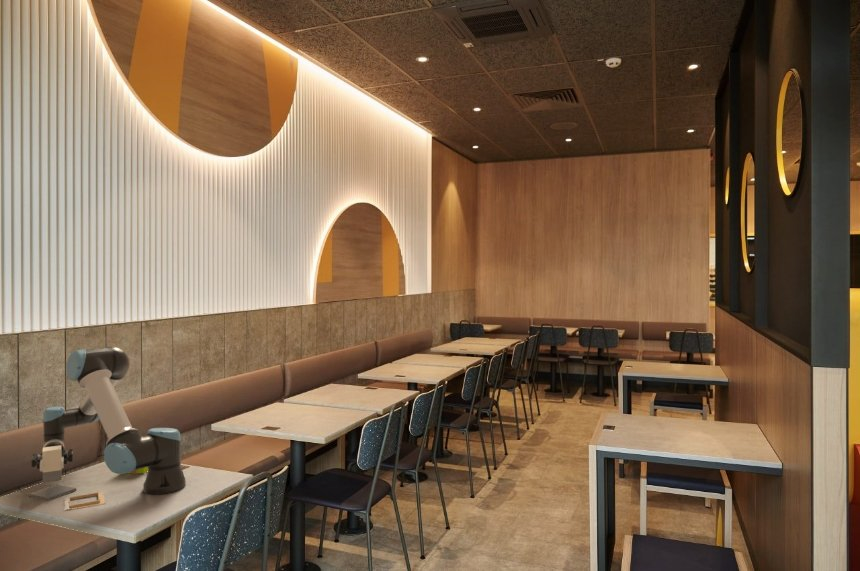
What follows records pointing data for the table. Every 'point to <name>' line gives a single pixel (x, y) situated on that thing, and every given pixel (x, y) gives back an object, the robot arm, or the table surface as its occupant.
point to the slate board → (52, 492)
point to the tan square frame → (87, 504)
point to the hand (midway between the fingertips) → (51, 466)
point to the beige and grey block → (51, 464)
